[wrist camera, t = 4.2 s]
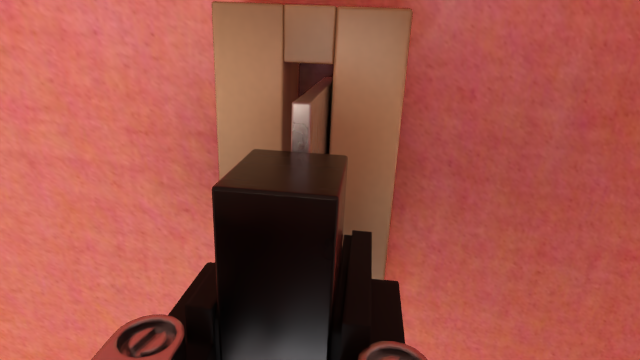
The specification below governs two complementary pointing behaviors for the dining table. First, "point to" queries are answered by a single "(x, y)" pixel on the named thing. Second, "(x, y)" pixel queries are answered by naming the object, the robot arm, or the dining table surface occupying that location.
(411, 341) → the dining table surface
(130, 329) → the robot arm
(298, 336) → the knife
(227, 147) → the knife block
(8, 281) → the dining table surface
